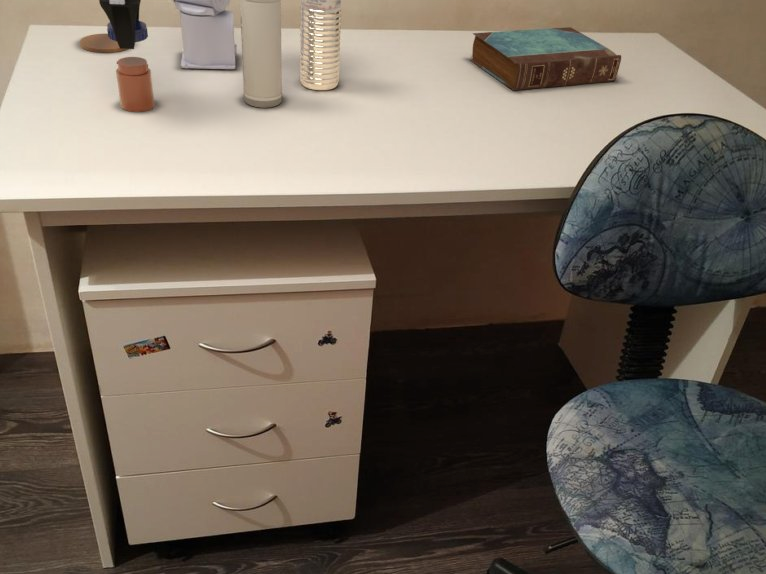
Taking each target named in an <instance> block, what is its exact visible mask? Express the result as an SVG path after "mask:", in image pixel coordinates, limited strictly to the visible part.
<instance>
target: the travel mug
mask: <svg viewBox="0 0 766 574" xmlns="http://www.w3.org/2000/svg"><path fill="white" fill-rule="evenodd" d="M239 12H240V36H241V38H240V39H241V61H242V62H241V63H242V82H243V86H242V87H243V100H244V102H245V103H246V104H247V105H249V106H251V107H254V108H262V109H263V108H264V109H267V108H268V109H269V108H274V107H277V106H279V105H281V103H282V102H283V92H282V91H283V78H282V76H283V75H282V74H283V71H282V69H283V68H282V66H283V65H282V0H239Z"/></svg>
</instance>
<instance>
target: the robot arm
mask: <svg viewBox="0 0 766 574" xmlns="http://www.w3.org/2000/svg"><path fill="white" fill-rule="evenodd" d="M170 1H171V2H172V3H174V6H175V10H179V19H180V29H181V38H182V39H181V42H182V52H181V60H180V68H182V69H201V70H202V69H207V70H208V69H209V70H235V69H236V56H237V55H238V49H237V48H238V46H237V44H236V43H235V24H234V11H233V10H227V7H228V6H229V5H230V3H231V0H170ZM141 2H142V1H141V0H98V3H99V6H100V7H101V9H102V10H103V12H104V13H105V15H106V17H107V18H108V20H109V22H110V23H111V25H112V28H113V31H114V34H115V37H116V40H117V43H118V45H119V47H120V49H126V50H134V49H135V45H136V42H135V26H136V20H138V21H140V7H141Z"/></svg>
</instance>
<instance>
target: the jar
mask: <svg viewBox="0 0 766 574" xmlns="http://www.w3.org/2000/svg"><path fill="white" fill-rule="evenodd" d="M116 65H117V68H116V70H115V74H116V82H117V88H118V95H119V103H120V108H122V109H123V110H124V111H127V112H131V113H142V112H148V111H151V110H153V109H154V108H155V106H156V104H155V96H154V87H153V80H152V79H153V78H152V70H151V69H150V68H149V63H148V61H147V59H146V58H143V57H139V56H126V57H122V58H119V59H118V60H117V61H116Z"/></svg>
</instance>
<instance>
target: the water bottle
mask: <svg viewBox="0 0 766 574" xmlns="http://www.w3.org/2000/svg"><path fill="white" fill-rule="evenodd" d="M299 9H300V11H299V21H300V22H299V80H300V83H301V85H302V86H303V87H304V88H305V89H309V90H313V91H331V90H333V89H335V88H337V86H338V84H339V80H340V60H341V59H340V57H341V55H340V54H341V33H342V32H341V29H342V25H341V24H342V0H300V4H299Z"/></svg>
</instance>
